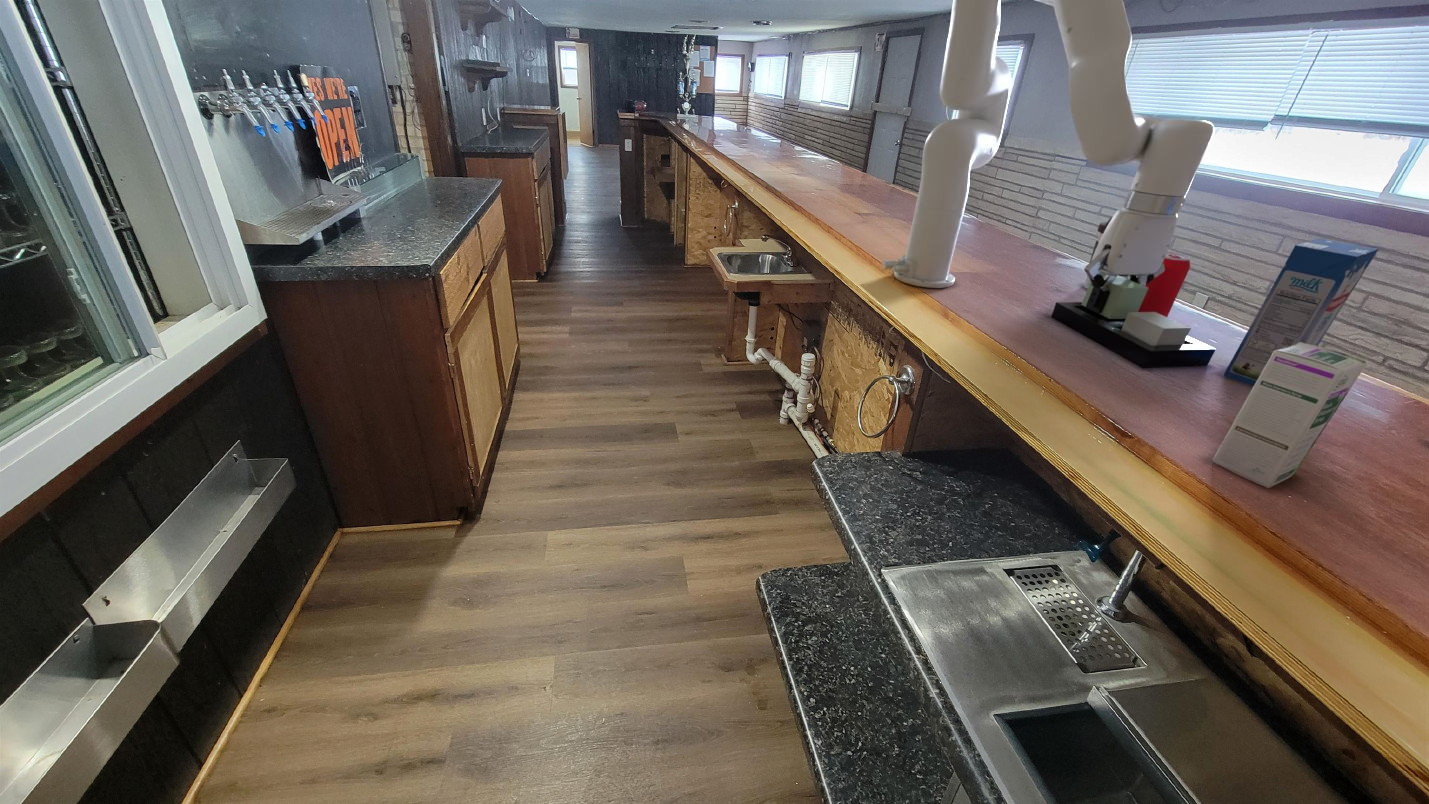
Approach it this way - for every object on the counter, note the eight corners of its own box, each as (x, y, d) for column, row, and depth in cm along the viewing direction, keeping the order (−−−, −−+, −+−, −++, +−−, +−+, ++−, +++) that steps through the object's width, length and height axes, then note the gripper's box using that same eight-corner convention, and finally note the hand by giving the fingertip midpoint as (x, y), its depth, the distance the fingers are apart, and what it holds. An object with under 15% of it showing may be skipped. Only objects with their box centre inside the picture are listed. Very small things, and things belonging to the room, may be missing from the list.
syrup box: (1269, 490, 61) (1349, 371, 54) (1208, 460, 66) (1274, 347, 58) (1293, 476, 64) (1373, 361, 56) (1232, 449, 68) (1299, 339, 61)
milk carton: (1273, 393, 82) (1357, 256, 72) (1222, 375, 86) (1295, 245, 76) (1297, 378, 87) (1379, 248, 77) (1248, 362, 91) (1319, 238, 81)
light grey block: (1148, 361, 90) (1163, 328, 87) (1115, 343, 96) (1128, 312, 93) (1175, 360, 91) (1191, 327, 88) (1140, 342, 97) (1154, 311, 94)
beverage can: (1153, 312, 111) (1181, 251, 105) (1172, 324, 105) (1202, 260, 100) (1120, 310, 111) (1146, 249, 105) (1137, 321, 106) (1165, 258, 100)
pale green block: (1109, 319, 97) (1123, 287, 94) (1081, 304, 103) (1092, 274, 100) (1134, 318, 98) (1148, 287, 95) (1104, 304, 104) (1117, 274, 101)
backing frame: (1142, 368, 88) (1150, 351, 86) (1050, 317, 106) (1056, 302, 105) (1207, 366, 89) (1216, 348, 88) (1105, 316, 108) (1111, 301, 106)
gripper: (1177, 200, 96) (1132, 302, 105) (1089, 198, 93) (1050, 303, 102) (1217, 210, 89) (1166, 317, 98) (1124, 208, 87) (1080, 318, 96)
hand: (1108, 309), depth 100 cm, fingers closed on pale green block, 5 cm apart
